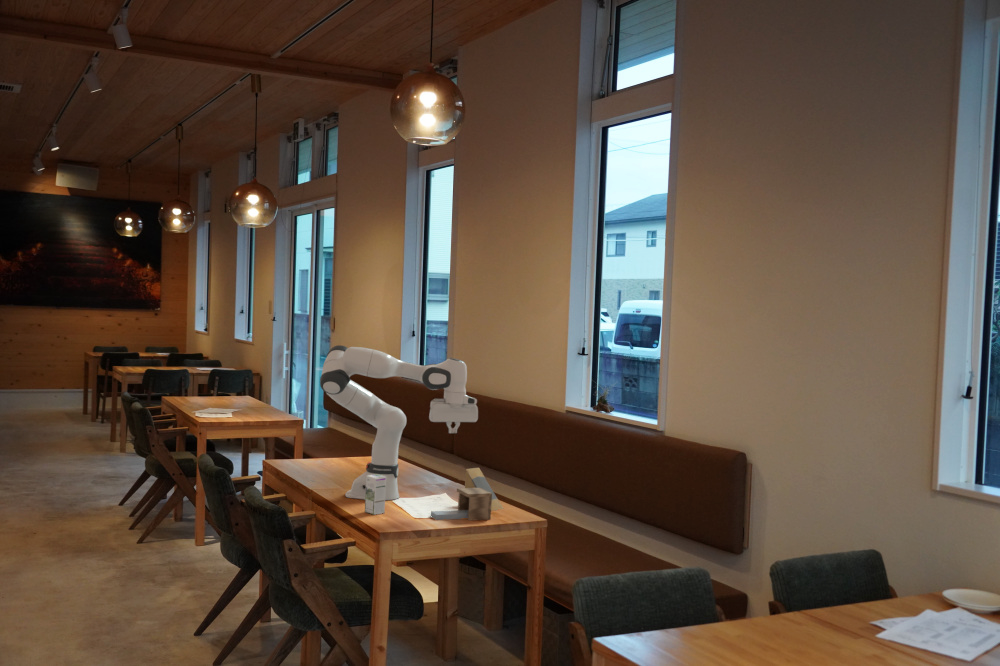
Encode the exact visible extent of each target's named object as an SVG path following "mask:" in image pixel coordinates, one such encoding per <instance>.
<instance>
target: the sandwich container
mask: <svg viewBox="0 0 1000 666" xmlns="http://www.w3.org/2000/svg"><path fill="white" fill-rule="evenodd" d="M464 488H482V489H484V490H486V491H488V492H490V493H492V503H491V512H492V511H493V510H494V511H499V510H498V509H500V510H503V509H504V507H503V505H502V504H501V502H500V500H499V499H498V497H497V496H496V493H495V492H494V491H493V489H492V487H491V486H490V484H489V482H488V481H487V478H486V477H485V475H484V473H483V472H482V470H481V469H480V467H473V468H472V467H471V468H466V469H465V480H464Z"/></svg>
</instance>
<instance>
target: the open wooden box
mask: <svg viewBox="0 0 1000 666" xmlns="http://www.w3.org/2000/svg"><path fill="white" fill-rule="evenodd" d="M456 492H457V493H458V498H457V499H458V503H457V510H468V519H467V520H468V521H484V520H486V521H487V520H491V518H492V517H491V516H492V511H491V503H492V493H490V492H488V491H486V490H484V489H482V488H465V487H462V488H459V487H457V488H456Z"/></svg>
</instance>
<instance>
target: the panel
mask: <svg viewBox="0 0 1000 666" xmlns="http://www.w3.org/2000/svg"><path fill="white" fill-rule="evenodd" d="M431 516H432V517H431ZM430 517H431V518H433V519H434V520H435V519H436V520H435V521H441V520H443V521H444V519H446V520H462V519H461V518H468V510H458V509H457V510H435V511H434V510H433V511H432V510H431V511H430Z"/></svg>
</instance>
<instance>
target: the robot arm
mask: <svg viewBox="0 0 1000 666" xmlns="http://www.w3.org/2000/svg"><path fill="white" fill-rule="evenodd" d="M354 375H360V376H365V377H369V378H374V379H387V378H393V377H402V378H406V379H410V380H415V381H418V382H420V383H422V384H423V385H424V387H426V388H427V389H429V390H430V391H431V390H432V391H434V390H435V391H437V390H440V389H443V390H444V391H443V398H434V399H432V400H431V401H430V405H429V408H430V409H429V416H428V419H429V421H430V422H433V423H445V424H446V427H447V428H448V434H458V429H459V427H460V425H461V423H476V422H477V421H478V419H479V407H478V406H477V403H478V399H477V398H475V397H471V396H470V395H467V389H466V385H467V379H468V367H467V364H466V362H465V361H463V359H462V360H461V359H458V358H454V357H450V358H447V359H446V360H444V361H442V362H440V363H437V364H436V363H429V364H425V365H421V364H416V363H411V362H407V361H403V360H400V359H398V358H396V357H394V356H392V355H390V354H388V353H387V352H384V351H381V350H377V349H373V348H367V347H362V346H361V347H360V346H350V347H347V346H345V345H341V344H340V345H339V344H338V345H335V346H333V347H331V348H330V349H329V351H328V352H327V354H326V358H325V360H324V362H323V365H322V370H321V376H320V379H319V385H320V388H321V390H322V391H323V392H325V393H326V395H327V396H328V397H330V398H331V399H332V400H333V401H335V403H336V404H338V405H340V406H341V407H343V408H345V409H346V410H348V411H350V412H351V413H352V414H354V415H356V416H358V417H359V418H360V419H362V420H363V421H365V422H366V423H368V424H370V425H372V426H373V427H374V428H375V429H377V430H376V434H375V439H374V441H373V443H372V447H371V461H369V462H367V464H366V467H365V472H363V473H362V474H360V475H359V476H358V477H357V478H355V479H354V480H353V482H352V485H351V489H349V490H347V491H346V492H345V497H346V498H351V499H359V500H365V496H366V477H367V476H368V475H374V474H377V475H381V476H385V477H386V492H385V501H389V500H390V501H391V500H396V499H399V498H400V492H399V487H398V477H399V463H398V461H399V447H400V441H401V439H402V434H403V431H404V429H405V427H406V425H407V421H408V420H407V416H406V414H405V413H404V411H403V410H402V409H401V408H399V407H396V406H393V405H392V404H391V405H390V403H387V402H385V401H384V400H382V399H381V398H379V397H378V396H376V395H375V394H374V393H372V392H371V391H370V390H368V389H366V388H365V387H363V386H362V385H360V384H359V383H357V382H355V381H353V380H352V379H351V376H354ZM453 423H454V425H455V426H454V427H452V424H453Z"/></svg>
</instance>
